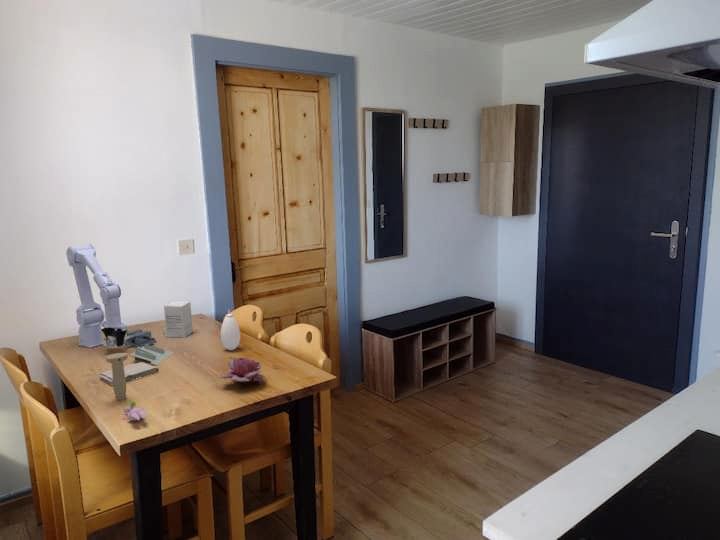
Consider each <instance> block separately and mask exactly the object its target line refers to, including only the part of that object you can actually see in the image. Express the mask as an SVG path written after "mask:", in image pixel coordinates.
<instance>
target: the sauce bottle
mask: <svg viewBox="0 0 720 540" xmlns="http://www.w3.org/2000/svg"><path fill="white" fill-rule="evenodd" d="M220 339H221V343H222V345H223V347H224V348H225V349H227V350H229V351H234V350H236V348H237V347H238V346H239V344H240V342H241V330H240V326H239V324H238V321H237V320H236V318H235V317H234V316H233V314H232V313H231V312H230V310H228V313H227V314H226V315H225V318H224V319H223V321H222V325H221V328H220Z"/></svg>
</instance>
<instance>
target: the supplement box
mask: <svg viewBox="0 0 720 540" xmlns="http://www.w3.org/2000/svg"><path fill="white" fill-rule="evenodd" d="M191 305H192V304H191V301H180V300H179V301H178V300H176V301H175V300H174V301H172V302H171V301H170V302H169V303H168V304H166V305H164V306H163V309H164V320H165V329H166V331H165V332H166V333H165V334H166V338H181V337H182V338H186V337H187V336H189V335H190V334H192V333H193V332H194V331H193V318H192V307H191Z"/></svg>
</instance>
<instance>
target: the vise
mask: <svg viewBox="0 0 720 540" xmlns="http://www.w3.org/2000/svg"><path fill="white" fill-rule="evenodd" d="M102 341H103V344H102V345H103V346H104V347H105V348H110V347H115V344H114V341H111V342H110V339H108V338H107V339H106V338H104V339H103V338H102ZM154 343H156V344H157V340H156V338H155V337H152V331H150V330H143V329H141V328H137V329H133V330H130V331H127V332H126V336H125V337H124V343H123V344H125V345H124V346H128V345H130V346H129V347H132V346H135V347H134V348H136V347H140V348H142V347H143V346H144V345H145V344H147V345H150V346H152V345H151V344H153V345H155V344H154Z"/></svg>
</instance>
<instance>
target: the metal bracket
mask: <svg viewBox="0 0 720 540" xmlns="http://www.w3.org/2000/svg"><path fill="white" fill-rule="evenodd" d="M172 353H174V354H175V352H174V351H171V350H166V351H165V349H164V348H160V347H158V346H151V345H150V346H149V345H147V344H145V345H144V346H143V347H142V348H136V347H135V351H134V352H132V353H130V356H132V357H133V358H134V359H135V360H137V359H138V358H139V359H141V360H145V361H148V362H150V364H151V366H156V365H158V364H159V363H160V362H161V361H163V360H164V359H165V358H166V357H168V356H169V355H171V354H172ZM171 356H172V355H171ZM137 357H138V358H137ZM169 357H170V356H169ZM169 357H168V358H169ZM136 358H137V359H136ZM134 359H133V360H134ZM165 360H166V359H165ZM165 360H164V361H165ZM164 361H163V362H164ZM150 364H149V365H150ZM159 365H160V364H159ZM159 365H158V366H159Z"/></svg>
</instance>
